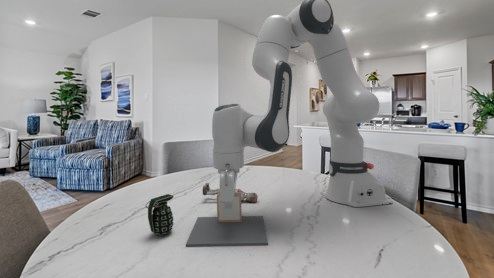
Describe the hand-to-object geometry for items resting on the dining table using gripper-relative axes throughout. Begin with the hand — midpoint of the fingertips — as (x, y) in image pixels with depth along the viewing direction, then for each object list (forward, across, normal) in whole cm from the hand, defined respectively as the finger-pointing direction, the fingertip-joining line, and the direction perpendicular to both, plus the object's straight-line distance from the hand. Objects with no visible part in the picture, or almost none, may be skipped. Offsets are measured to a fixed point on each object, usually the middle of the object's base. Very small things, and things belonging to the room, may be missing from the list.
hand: (229, 207), depth 74 cm
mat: (+5, -5, 0) cm, 7 cm away
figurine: (+5, +18, +1) cm, 19 cm away
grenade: (+5, -6, +18) cm, 20 cm away
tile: (+4, 0, 0) cm, 4 cm away
